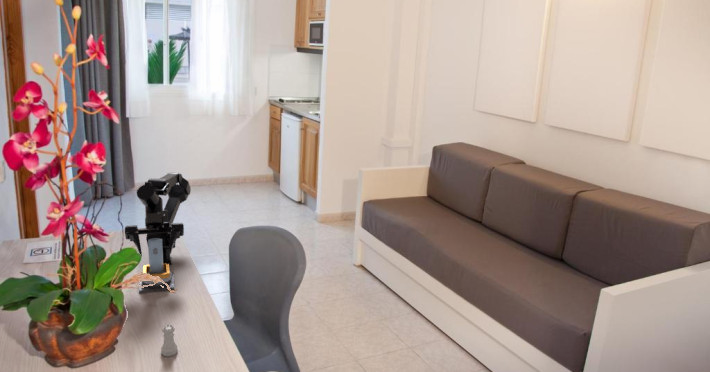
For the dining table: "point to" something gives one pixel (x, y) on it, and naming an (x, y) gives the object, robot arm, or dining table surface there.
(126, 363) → the dining table surface
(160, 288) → the open square bin
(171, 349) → the rook chess piece
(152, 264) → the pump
